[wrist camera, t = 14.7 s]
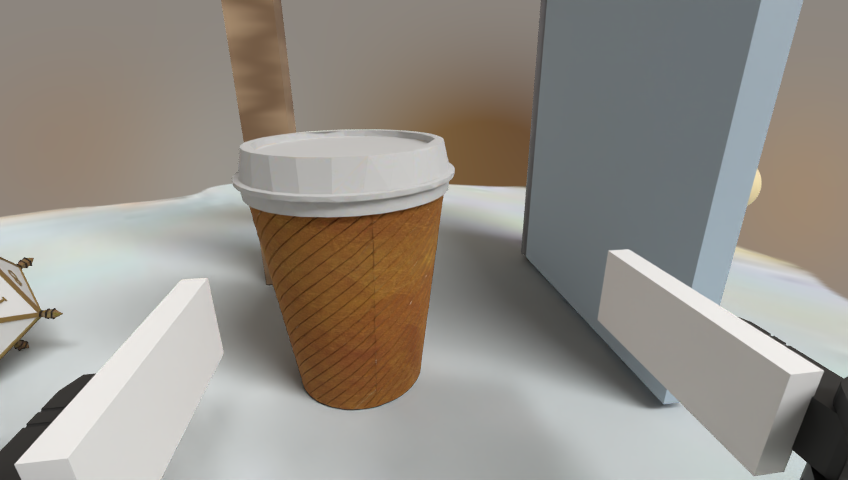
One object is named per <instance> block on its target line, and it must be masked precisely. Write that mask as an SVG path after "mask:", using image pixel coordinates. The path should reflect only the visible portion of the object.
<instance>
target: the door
mask: <svg viewBox="0 0 848 480" xmlns="http://www.w3.org/2000/svg"><path fill="white" fill-rule="evenodd" d="M802 3H803V0H541V7H540V20H539V32H538V45H537V58H536V70H535V83H534V96H533V109H532V121H531V135H530V147H529V160H528V172H527V185H526V198H525V211H524V224H523V236H522V249H521V253H522V254H524V255H526V257H527V259H528V260H529V261H530V262H531V263H532V264H533V265H534V266H535V267H536V268H537V269H538V270H539V271H540V272H541V274H542V275H543V276H544V277H545V278H546V279H547V280H548V281H549V282H550V283H551V284H552V285H553V286H554V288H555V289H556V290H557V291H558V292H559V293H560V294H561V295H562V296H563V297H564V298H565V299H566V300H567V301H568V303H569V304H570V305H571V306H572V307H573V308H574V309H575V310H576V311H577V312H578V313H579V314H580V315H581V316H582V318H583V319H584V320H585V321H586V322H587V323H588V324H589V325H590V326H591V327H592V328H593V329H594V330H595V331H596V333H597V334H598V335H599V336H600V337H601V338H602V339H603V340H604V341H605V342H606V343H607V344H608V345H609V346H610V348H611V349H612V350H613V351H614V352H615V353H616V354H617V355H618V356H619V357H620V358H621V359H622V360H623V362H624V363H625V364H626V365H627V366H628V367H629V368H630V369H631V370H632V371H633V372H634V373H635V374H636V375H637V377H638V378H639V379H640V380H641V381H642V382H643V383H644V384H645V385H646V386H647V387H648V388H649V389H650V390H651V392H652V393H653V394H654V395H655V396H656V397H657V398H658V399H659V400H660V401H661V402H662V403H663V404H670V403H679V401H678V400H677V399H676V398H675V397H674V396H673V395H672V394H671V393H670V392H669V391H668V390H667V389H666V388H665V387H664V386H663V385H662V384H661V383H660V382H659V381H658V380H657V379H656V378H655V377H654V376H653V375H652V374H651V373H650V372H649V371H648V370H647V369H646V368H645V367H644V366H643V365H642V364H641V363H640V362H639V361H638V360H637V359H636V358H635V357H634V356H633V355H632V354H631V353H630V352H629V351H628V350H627V349H626V348H625V347H624V346H623V345H622V344H621V343H620V342H619V341H618V340H617V339H616V338H615V337H614V336H613V335H612V334H611V333H610V332H609V331H608V330H607V329H606V328H605V327H604V326H603V325H602V324H601V323H600V322H599V321H598V320H597V319H598V313H599V306H600V300H601V294H602V287H603V281H604V275H605V268H606V262H607V255H608V251H609V250H624V249H629V250H631V251H632V252H634V253H636V254H637V255H639V256H640V257H642V258H644V259H645V260H647V261H649V262H650V263H652V264H653V265H655V266H657V267H658V268H660V269H661V270H663V271H665V272H666V273H668V274H669V275H671V276H673V277H674V278H676V279H677V280H679V281H681V282H682V283H684V284H685V285H687V286H689V287H690V288H692V289H694V290H695V291H697V292H698V293H700V294H702V295H703V296H705V297H706V298H708V299H710V300H711V301H713V302H714V303H716V304H718V305H719V306H720V303H721V299H722V295H723V292H724V288H725V284H726V281H727V277H728V273H729V270H730V266H731V262H732V259H733V255H734V251H735V248H736V244H737V240H738V237H739V233H740V229H741V226H742V222H743V218H744V215H745V211H746V207H747V205H749V204H751V203H752V202H753V201H754V200H755V199H756V198H757V196H758V195H759V192H760V189H761V176H760V173H759V171H758V169H757V167H758V164H759V160H760V156H761V153H762V149H763V145H764V141H765V138H766V134H767V131H768V127H769V123H770V120H771V116H772V112H773V109H774V105H775V101H776V98H777V94H778V90H779V86H780V83H781V79H782V76H783V72H784V69H785V65H786V61H787V58H788V54H789V50H790V47H791V43H792V39H793V36H794V32H795V28H796V24H797V21H798V17H799V13H800V10H801V6H802Z"/></svg>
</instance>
